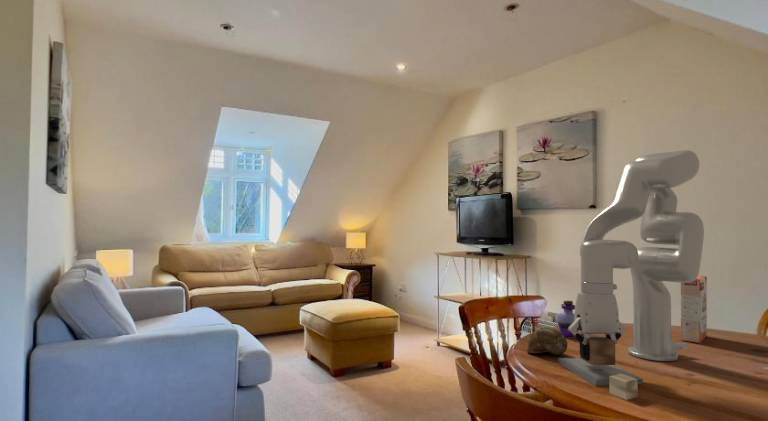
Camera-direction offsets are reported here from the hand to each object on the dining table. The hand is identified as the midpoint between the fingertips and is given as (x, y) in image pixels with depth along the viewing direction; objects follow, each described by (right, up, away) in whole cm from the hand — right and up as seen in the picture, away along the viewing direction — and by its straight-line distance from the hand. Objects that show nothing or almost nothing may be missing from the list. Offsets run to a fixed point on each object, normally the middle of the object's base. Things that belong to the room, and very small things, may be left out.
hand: (597, 358), depth 116 cm
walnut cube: (0, -1, 0) cm, 1 cm away
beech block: (-1, -3, -15) cm, 16 cm away
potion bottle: (+8, -5, +38) cm, 39 cm away
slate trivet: (0, -4, 0) cm, 4 cm away
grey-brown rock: (-7, -4, +16) cm, 18 cm away
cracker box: (+50, -5, +35) cm, 61 cm away
